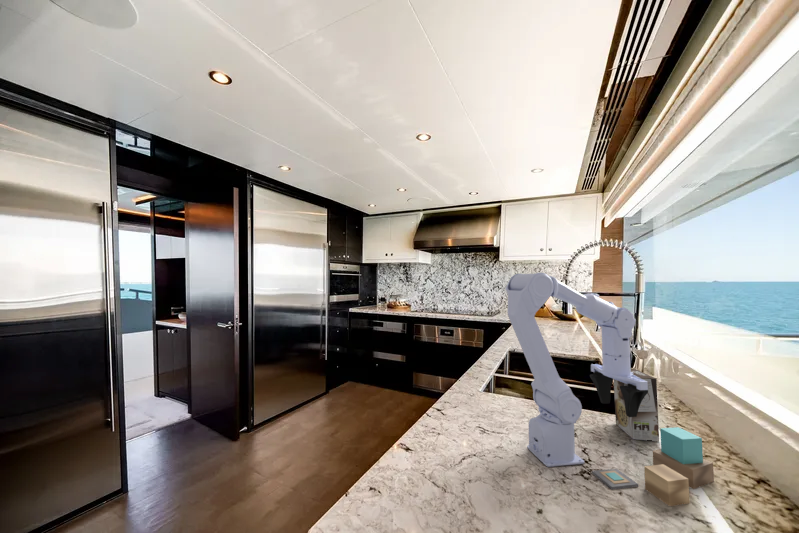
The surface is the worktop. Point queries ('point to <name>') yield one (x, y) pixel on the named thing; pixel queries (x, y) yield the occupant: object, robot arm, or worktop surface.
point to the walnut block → (687, 469)
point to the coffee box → (639, 411)
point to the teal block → (681, 445)
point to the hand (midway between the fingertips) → (617, 409)
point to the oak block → (667, 485)
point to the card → (615, 479)
